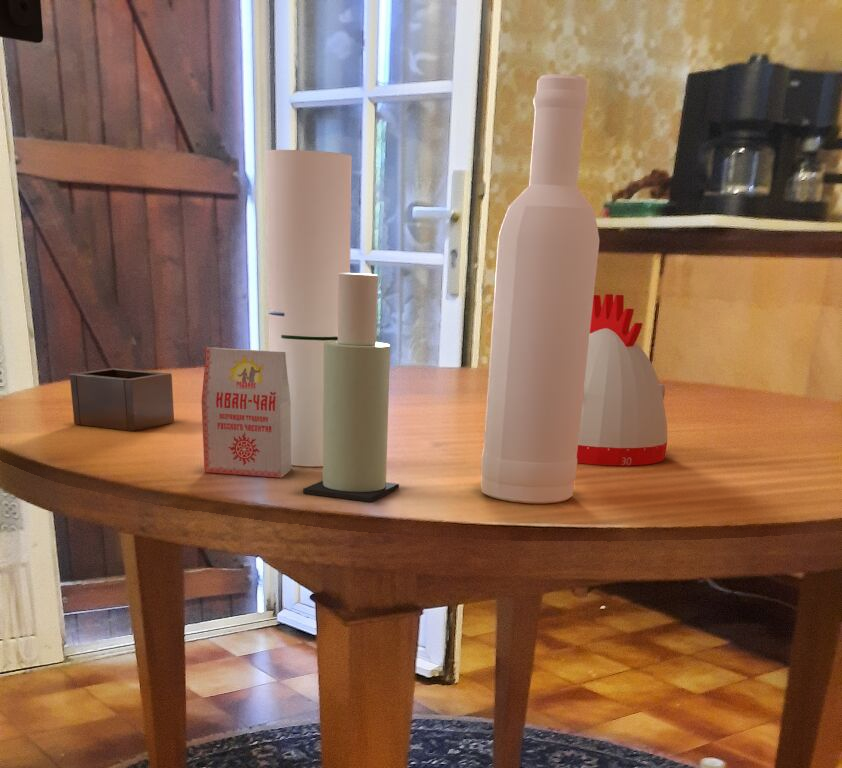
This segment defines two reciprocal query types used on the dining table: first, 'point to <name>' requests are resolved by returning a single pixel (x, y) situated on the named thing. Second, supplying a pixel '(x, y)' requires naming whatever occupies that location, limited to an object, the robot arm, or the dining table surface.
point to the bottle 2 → (542, 312)
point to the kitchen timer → (620, 393)
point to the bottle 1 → (356, 392)
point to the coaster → (360, 496)
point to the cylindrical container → (306, 277)
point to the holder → (122, 399)
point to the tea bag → (246, 413)
